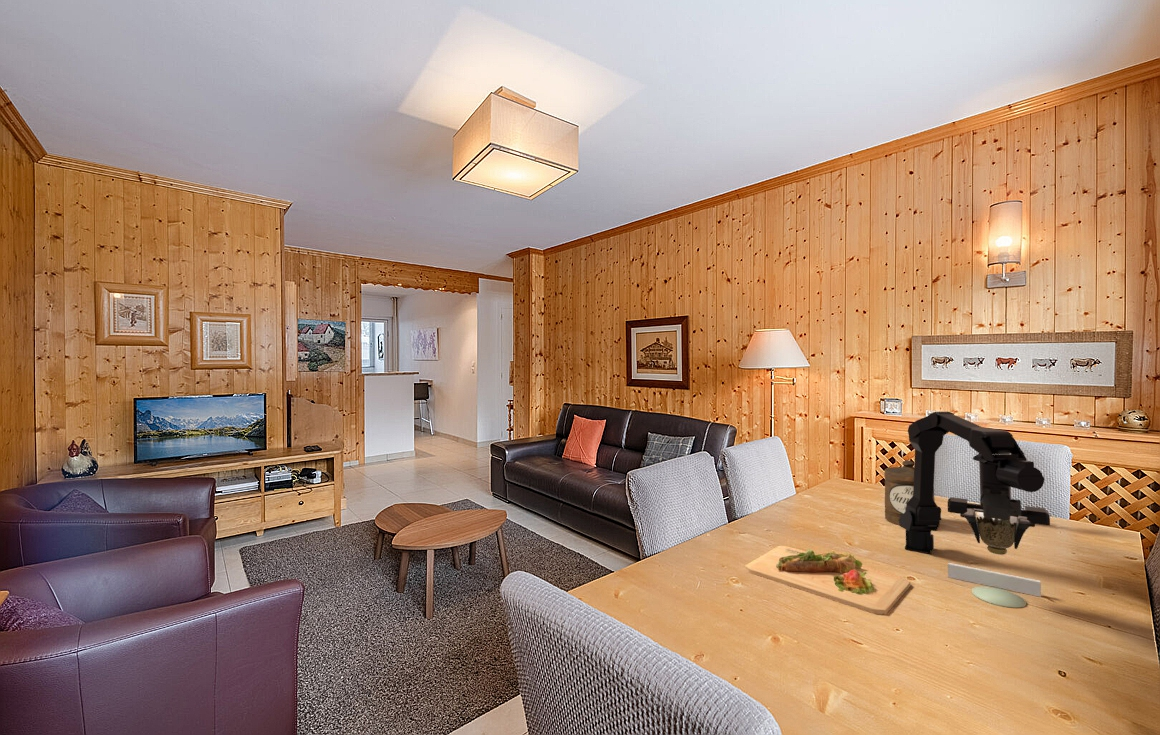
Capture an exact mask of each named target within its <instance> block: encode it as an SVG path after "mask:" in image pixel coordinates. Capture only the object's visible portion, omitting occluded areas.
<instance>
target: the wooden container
mask: <svg viewBox="0 0 1160 735" xmlns="http://www.w3.org/2000/svg"><path fill="white" fill-rule="evenodd" d="M914 463H915V462H913V461H912V460H908V459H906V460H905V459H904V460H903V461H902V463H901V464H902V465H903V466H893V467H887V468H884V518H885V520H886V521H887V522H889V523H892V524H894V525H898V526H900V524H899V518H900V517H901V516H902V515H903V514H904V513H905V511H906V505H907V503H908V501H909V500H910V499H911V498H912V496H913V488H914ZM933 500H934V502H935V491H934V492H933ZM935 503H936V502H935Z"/></svg>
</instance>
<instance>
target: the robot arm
mask: <svg viewBox="0 0 1160 735" xmlns="http://www.w3.org/2000/svg"><path fill="white" fill-rule="evenodd" d="M907 428H908V429H907V434H908V440H909V443H910V445H911V446H912V447H913V449H914V462H913V463H914V465H913V467H914V488H913V496H912V498H911V499H910V500H909V501H908V503H907V505H906V511H905V513H904V514H903V515H902V516H901V517H900V518H899V524H900V525H899V527H900V528H902V529H905V546H904V549H905V550H908V551H913V552H919V553H922V554H923V553H924V554H932V551H934V549H935V539H934V534H932V532H934V531H935V532H937V531H938V529H939V527H940V523H941V521H942V518H941V517H942V516H941V515H942V508H941V507H940V506H938V504H937V503H936V502H934V500H935V499H934V500H933V492H934V493H935V468H936V467H935V463H936V453H937V451H938V450H939V449H940V448H941V446H942V445H943V441H944V436H945V435H947V434H948V433H950V434H954V435H955V436H957V437H959V438H962V440H963V439H964V440H965V441H967V442H968V445H969V447H970V448H972V449H973V450H974V451H976V453H977V454H975V455H974V456H973V457H972V459H973V460H974V461H976V462H978V464H979V468H978V469H979V494H980V497H979V500H980V501H979V502H980V503H979V504H978V503H971V502H968V499H967V498H961V497H949V498H948V500H947V512H948V513H951V514H952V513H953V514H958V515H959V516H960V517H961V518H965V519H966V521H967V522H968V524H969V526H970V527H971V529H972V532H973V534H974V537H975V539H976V541H977V544H981V538H980V534H979V530H978V524H977V512H983V516H984V517H986V518H990V519H991V518H996V519H1002V520H1005V521H1007V520H1010V516H1014V517H1017V521H1016V523H1017V525H1016V534H1015V540H1014V543H1013V546H1014V550H1018V547H1019V545H1020V542H1021V541H1022V538H1023V536H1024V534H1025V533H1026V531H1027V530H1028V529H1029V528H1032V527H1033V528H1035V527H1036V525H1040V526H1041V525H1043V526H1051V516H1050V514H1049V511H1048V510H1047V509H1045V508H1044V507H1036V506H1028V505H1025V506H1024V509H1022V503H1021V502H1022V501H1021V499H1016V498H1015V499H1014V498H1012V495H1011V494H1012V489H1011V488H1013V489H1016V490H1021V491H1024V492H1028V493H1034V492H1037V491H1039V490H1040V489H1042V487H1043V485H1044V484H1045V477H1044V476H1043V473H1042V471H1041V470H1040V469H1038V468H1037V467H1035V463H1034V461H1031V460H1027V457H1026V456H1025V453H1024V452H1023V450H1022V449H1021V447H1020V446H1019V444H1018V443H1017V441H1016V439H1015V438H1014V435H1013V434H1012V433H1011V432H1009V431H1007V430H1003V429H998V428H992V427H991V428H989V427H983V426H980V425H979V424H976V423H974V422H971V421H969V420H967V419H965V418H963V417H960V416H958V415H956V414H954V413H953V412H950V411H932V412H931V413H929V414H928V415H927V416H924V417H922V418H919V419H916V420H915V421H914V422H911V424H909V426H908V427H907Z"/></svg>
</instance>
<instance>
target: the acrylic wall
mask: <svg viewBox="0 0 1160 735" xmlns="http://www.w3.org/2000/svg"><path fill="white" fill-rule="evenodd" d="M947 577H948V578H951V579H955V580H959V581H964V582H969V583H973V584H979V585H984V586H986V587H992V588H997V589H1002V590H1005V591H1010V592H1011V591H1012V592H1015V593H1016V592H1017V593H1019V594H1020V593H1022V594H1026V595H1031V596H1035V597H1040V598H1041V597H1042V583H1041V580H1039V579H1034V578H1028V577H1023V576H1022V577H1021V576H1017V575H1012V574H1007V573H1003V572H998V571H992V570H987V569H982V568H976V567H972V566H967V565H964V564H963V565H962V564H958V563H957V564H956V563H951V562H948V563H947Z"/></svg>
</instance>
